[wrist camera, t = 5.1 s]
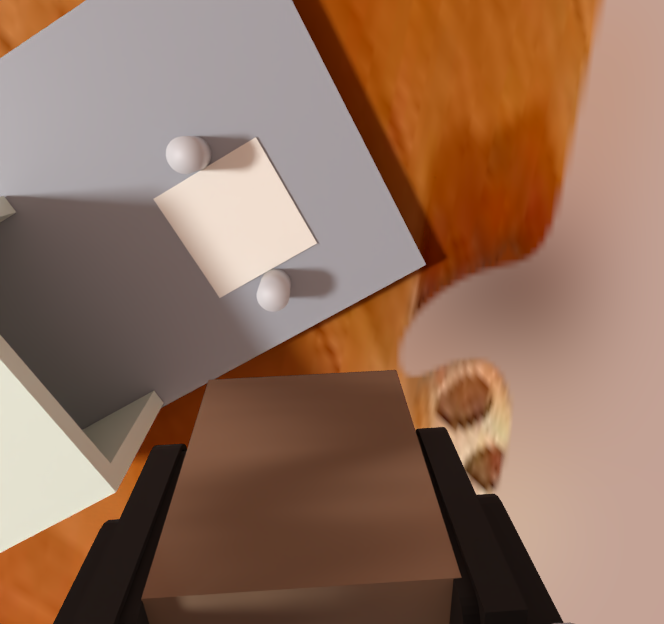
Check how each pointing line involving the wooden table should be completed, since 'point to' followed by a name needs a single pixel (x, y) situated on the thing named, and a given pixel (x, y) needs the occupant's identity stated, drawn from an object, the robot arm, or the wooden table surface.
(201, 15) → the base board
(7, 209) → the housing cover
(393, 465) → the block
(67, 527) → the wooden table surface
